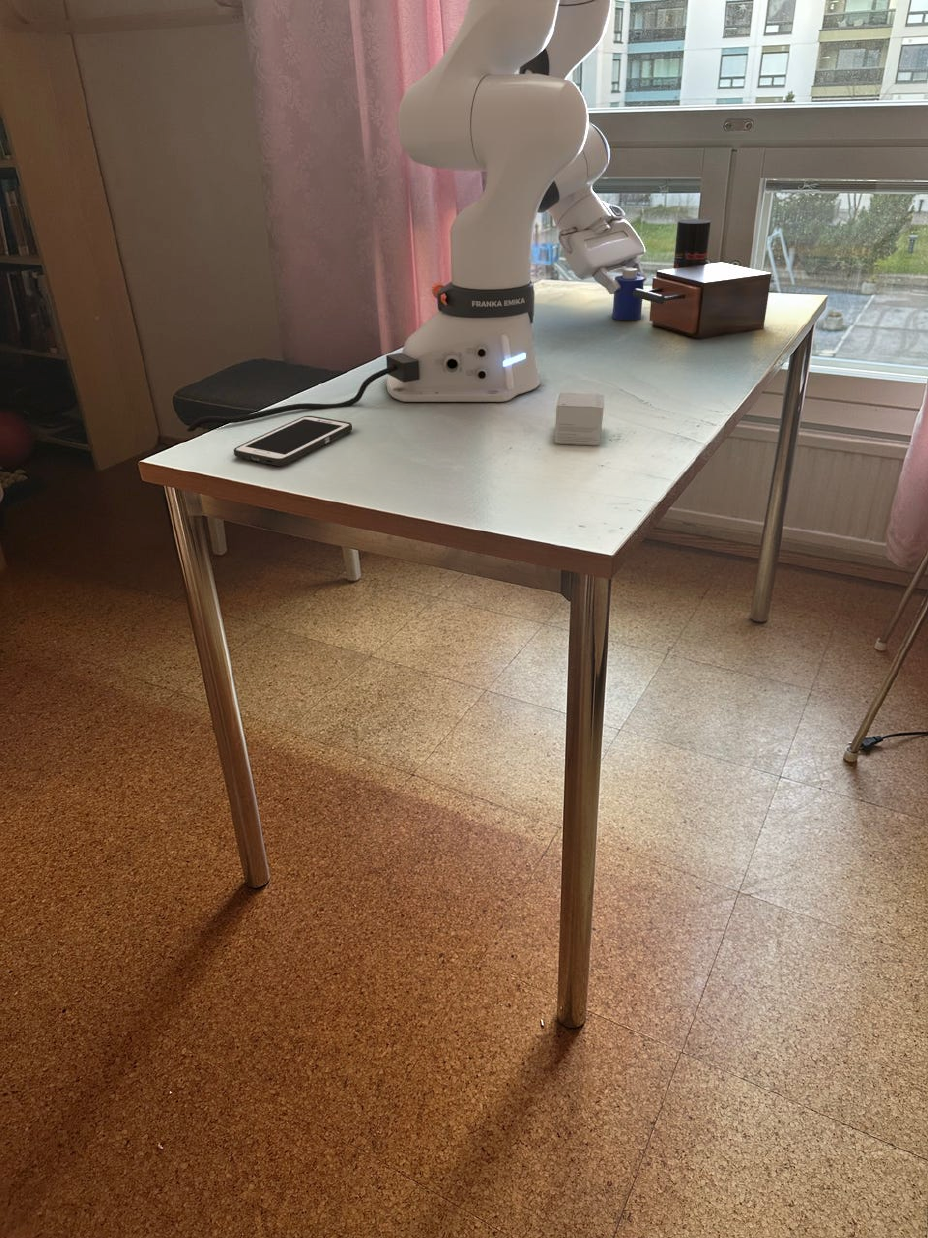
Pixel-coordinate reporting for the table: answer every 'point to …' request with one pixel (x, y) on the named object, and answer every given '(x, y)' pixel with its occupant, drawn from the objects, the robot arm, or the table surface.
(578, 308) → the table surface
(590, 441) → the small box
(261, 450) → the cell phone
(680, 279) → the drawer box
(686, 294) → the wooden drawer
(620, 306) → the detergent bottle
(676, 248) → the deodorant
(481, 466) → the table surface
